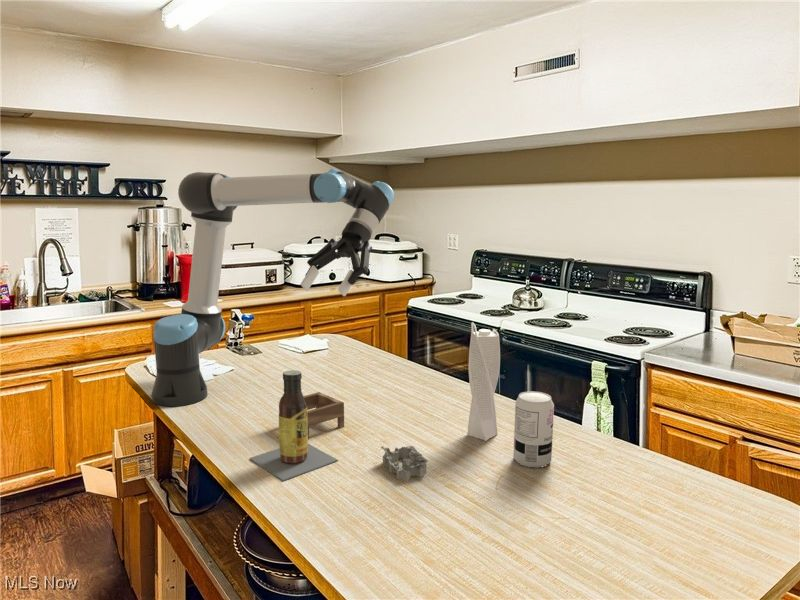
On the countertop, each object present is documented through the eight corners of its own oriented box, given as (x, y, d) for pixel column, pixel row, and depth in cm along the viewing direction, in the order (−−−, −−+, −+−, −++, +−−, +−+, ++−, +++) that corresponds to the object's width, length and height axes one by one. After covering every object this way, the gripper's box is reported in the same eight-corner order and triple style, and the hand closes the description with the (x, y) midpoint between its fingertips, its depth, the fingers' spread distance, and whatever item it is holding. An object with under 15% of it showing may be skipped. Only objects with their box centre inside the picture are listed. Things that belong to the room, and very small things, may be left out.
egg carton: (379, 462, 132) (379, 445, 131) (410, 456, 135) (410, 439, 134) (398, 483, 122) (398, 465, 121) (430, 476, 125) (431, 458, 124)
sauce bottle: (302, 466, 128) (299, 378, 125) (275, 463, 130) (271, 376, 126) (312, 453, 135) (310, 369, 131) (286, 451, 136) (283, 367, 132)
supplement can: (509, 453, 136) (511, 390, 133) (544, 452, 136) (547, 390, 134) (519, 470, 128) (521, 403, 125) (556, 468, 128) (559, 402, 126)
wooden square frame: (281, 426, 151) (280, 402, 150) (319, 415, 159) (319, 392, 158) (305, 439, 143) (304, 414, 142) (344, 426, 151) (343, 402, 150)
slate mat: (249, 459, 133) (249, 457, 132) (302, 441, 142) (302, 440, 142) (283, 481, 122) (283, 480, 122) (337, 461, 132) (337, 459, 132)
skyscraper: (459, 434, 146) (461, 323, 141) (476, 425, 152) (479, 318, 147) (486, 443, 141) (490, 328, 136) (503, 434, 147) (507, 323, 142)
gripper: (401, 240, 158) (365, 304, 149) (333, 236, 173) (296, 293, 164) (389, 221, 153) (350, 286, 144) (320, 218, 168) (281, 277, 159)
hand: (322, 290), depth 154 cm, fingers open, 13 cm apart
